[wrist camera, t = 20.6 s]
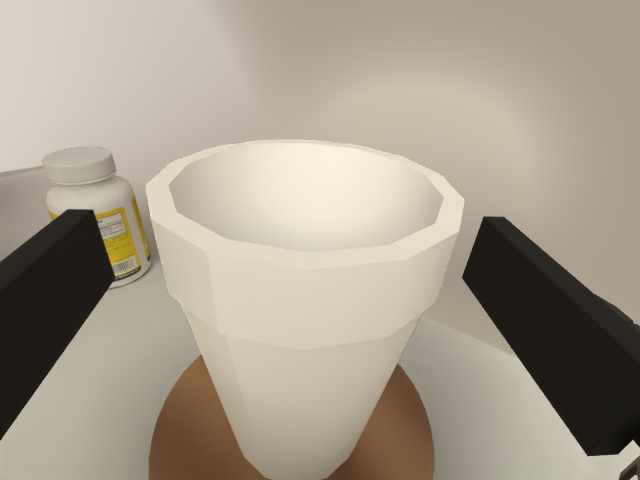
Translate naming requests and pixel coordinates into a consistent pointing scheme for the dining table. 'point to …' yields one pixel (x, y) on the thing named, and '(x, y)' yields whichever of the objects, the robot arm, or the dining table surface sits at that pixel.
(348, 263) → the foam cup
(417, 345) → the dining table surface
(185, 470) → the wooden coaster
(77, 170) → the supplement bottle
